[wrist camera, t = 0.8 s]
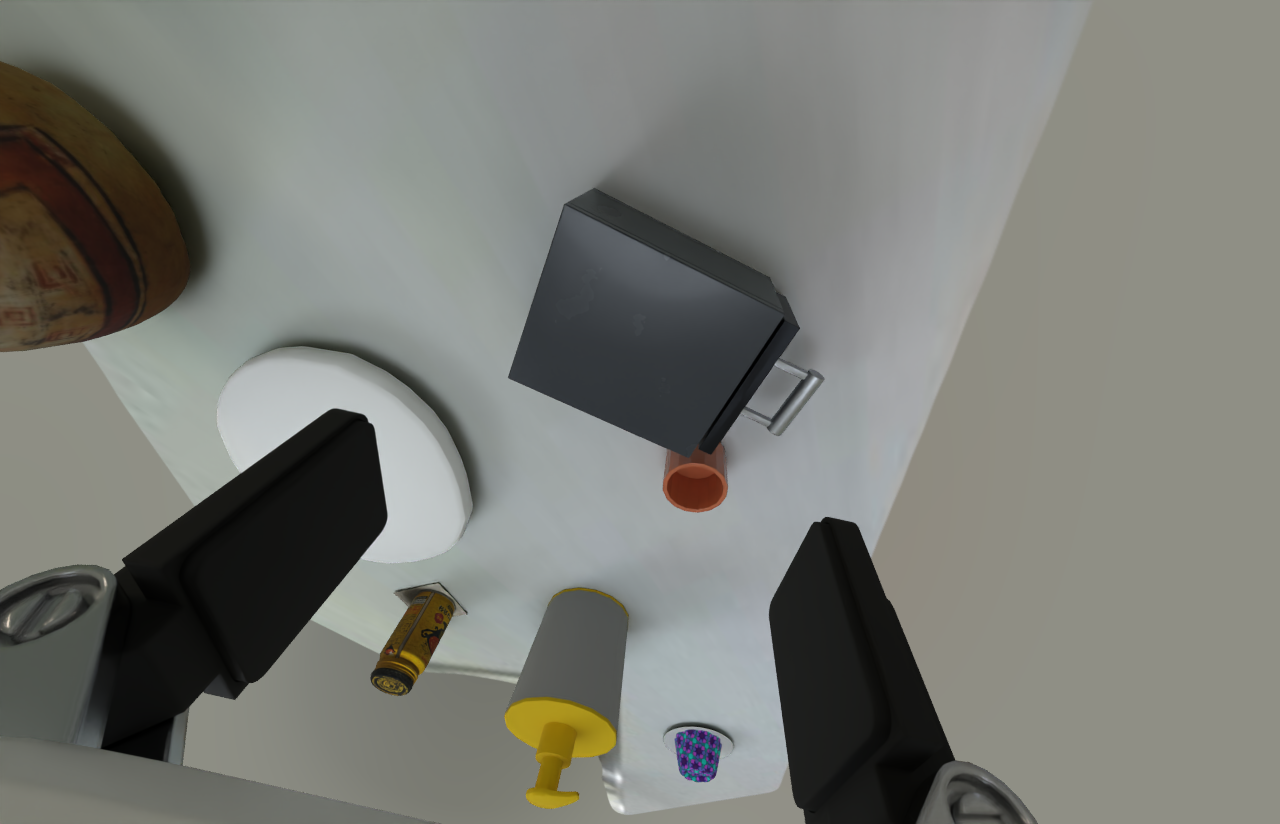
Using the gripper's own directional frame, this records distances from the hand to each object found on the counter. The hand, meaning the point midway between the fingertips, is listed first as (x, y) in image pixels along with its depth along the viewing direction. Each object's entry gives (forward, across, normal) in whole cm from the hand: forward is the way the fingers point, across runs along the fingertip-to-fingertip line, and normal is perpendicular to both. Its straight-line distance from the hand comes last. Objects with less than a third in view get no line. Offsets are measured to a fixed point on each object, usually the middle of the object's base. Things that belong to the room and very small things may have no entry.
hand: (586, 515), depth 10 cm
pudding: (+33, -22, +80) cm, 89 cm away
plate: (+32, +30, +30) cm, 53 cm away
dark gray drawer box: (+31, +1, +6) cm, 32 cm away
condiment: (+33, +24, +57) cm, 70 cm away
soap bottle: (+32, +1, +51) cm, 61 cm away
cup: (+32, -7, +20) cm, 38 cm away
